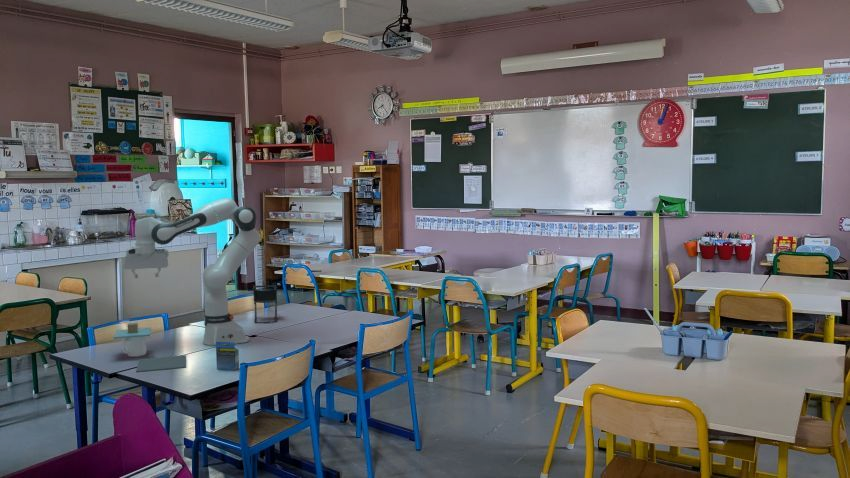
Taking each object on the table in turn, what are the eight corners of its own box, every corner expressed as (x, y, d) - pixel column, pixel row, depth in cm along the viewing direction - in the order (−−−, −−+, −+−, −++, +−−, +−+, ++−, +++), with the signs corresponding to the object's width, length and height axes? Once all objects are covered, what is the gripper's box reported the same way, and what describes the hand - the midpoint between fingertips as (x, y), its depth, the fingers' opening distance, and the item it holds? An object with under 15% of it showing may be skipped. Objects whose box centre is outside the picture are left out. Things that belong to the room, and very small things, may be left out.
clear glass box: (254, 324, 375) (253, 285, 374) (254, 318, 392) (253, 281, 390) (277, 323, 378) (276, 285, 376) (277, 317, 395) (276, 280, 393)
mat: (186, 356, 306) (186, 355, 306) (186, 367, 287) (186, 366, 287) (139, 360, 299) (139, 359, 299) (136, 372, 280) (136, 371, 280)
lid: (151, 329, 316) (150, 319, 316) (149, 336, 302) (149, 325, 302) (116, 331, 311) (116, 321, 311) (113, 338, 297) (113, 328, 297)
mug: (128, 359, 300) (127, 337, 299) (116, 357, 304) (115, 335, 303) (150, 353, 311) (149, 332, 310) (138, 351, 315) (137, 330, 314)
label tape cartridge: (239, 368, 287) (238, 340, 286) (235, 370, 283) (234, 342, 282) (220, 367, 288) (219, 339, 287) (216, 369, 284) (215, 341, 283)
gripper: (168, 248, 329) (169, 275, 331) (123, 249, 322) (124, 277, 324) (168, 249, 324) (169, 277, 325) (122, 251, 316) (123, 279, 318)
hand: (146, 277), depth 324 cm, fingers open, 8 cm apart
